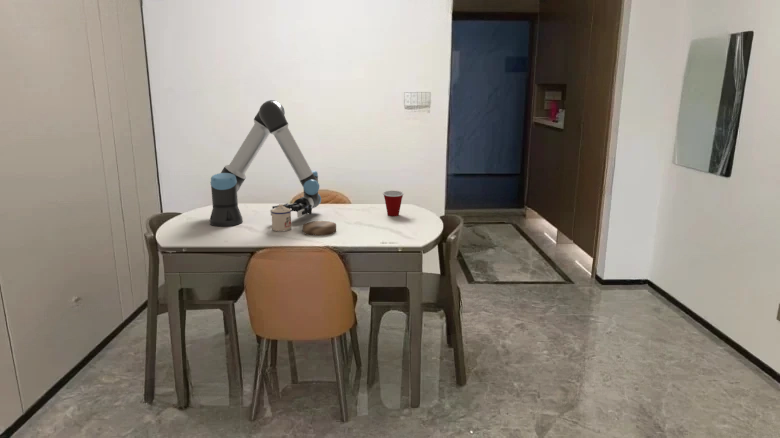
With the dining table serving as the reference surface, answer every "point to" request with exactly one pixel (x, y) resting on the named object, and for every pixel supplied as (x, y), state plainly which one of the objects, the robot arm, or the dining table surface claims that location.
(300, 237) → the dining table surface
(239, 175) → the robot arm
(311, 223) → the brown round disc
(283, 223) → the teacup with lid
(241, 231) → the dining table surface
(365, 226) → the dining table surface
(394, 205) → the plastic cup
